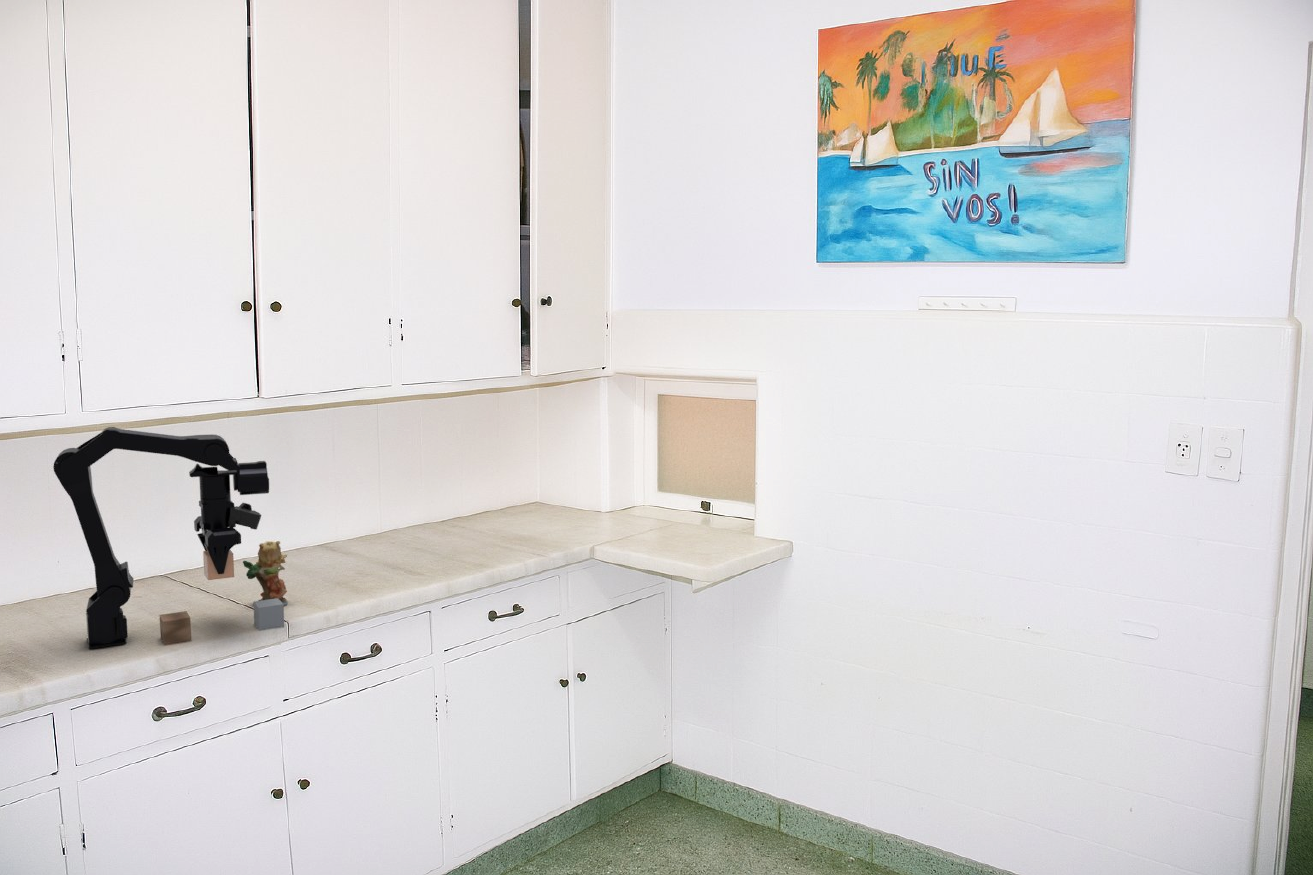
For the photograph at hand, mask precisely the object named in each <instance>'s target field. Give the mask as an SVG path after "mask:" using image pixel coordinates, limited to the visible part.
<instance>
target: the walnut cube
mask: <svg viewBox="0 0 1313 875" xmlns="http://www.w3.org/2000/svg"><path fill="white" fill-rule="evenodd" d="M158 615H159V630H160V634H159V635H160V640H161V642H162V644H163V646H169V645H176V644H182V643H190V642H192V624H191V623H192V622H191V617H190V615H189V613H188V611H187V610H184V611H179V612H171V613H163V614H158Z"/></svg>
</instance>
